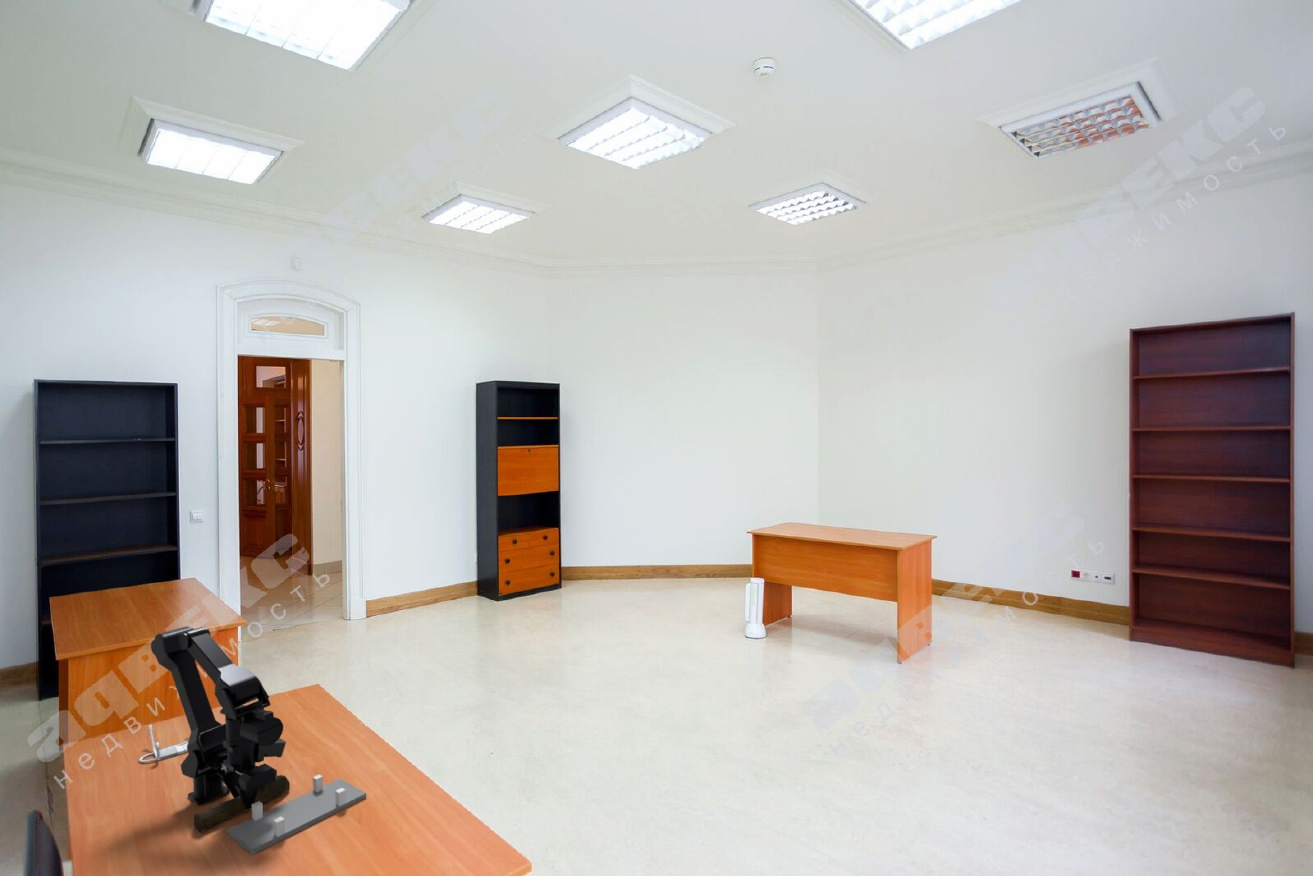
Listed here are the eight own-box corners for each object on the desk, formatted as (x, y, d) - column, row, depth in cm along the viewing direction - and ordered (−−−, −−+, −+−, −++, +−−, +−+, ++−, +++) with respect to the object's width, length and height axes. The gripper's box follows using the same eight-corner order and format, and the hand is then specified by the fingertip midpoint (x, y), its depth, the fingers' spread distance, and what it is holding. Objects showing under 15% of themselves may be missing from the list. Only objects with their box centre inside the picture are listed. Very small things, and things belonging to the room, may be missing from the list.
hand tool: (199, 837, 142) (198, 815, 142) (192, 829, 145) (191, 808, 144) (294, 796, 157) (294, 776, 156) (287, 790, 159) (286, 770, 159)
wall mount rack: (142, 770, 169) (140, 746, 168) (135, 750, 179) (133, 728, 178) (216, 747, 179) (215, 725, 179) (206, 730, 189) (205, 709, 189)
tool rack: (227, 834, 142) (227, 815, 142) (339, 782, 162) (339, 765, 161) (252, 854, 136) (251, 834, 136) (366, 797, 155) (365, 780, 155)
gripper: (300, 732, 151) (303, 802, 152) (260, 711, 162) (263, 776, 163) (246, 753, 142) (249, 827, 143) (207, 729, 153) (210, 798, 154)
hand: (244, 805), depth 151 cm, fingers open, 5 cm apart
